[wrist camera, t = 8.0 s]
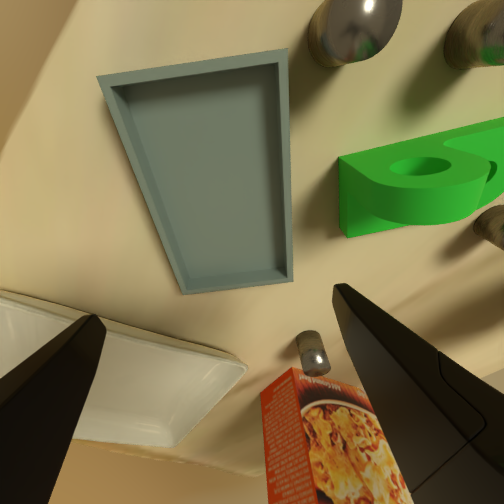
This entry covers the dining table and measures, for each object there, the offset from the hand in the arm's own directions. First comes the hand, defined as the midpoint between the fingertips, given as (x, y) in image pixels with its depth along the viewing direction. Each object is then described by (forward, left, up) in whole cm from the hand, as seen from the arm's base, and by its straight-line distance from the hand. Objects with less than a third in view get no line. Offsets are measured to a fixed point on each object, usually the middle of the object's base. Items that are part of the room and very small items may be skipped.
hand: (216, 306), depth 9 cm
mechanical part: (-15, +1, -12) cm, 19 cm away
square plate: (+19, +23, -12) cm, 32 cm away
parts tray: (0, 0, -12) cm, 12 cm away
